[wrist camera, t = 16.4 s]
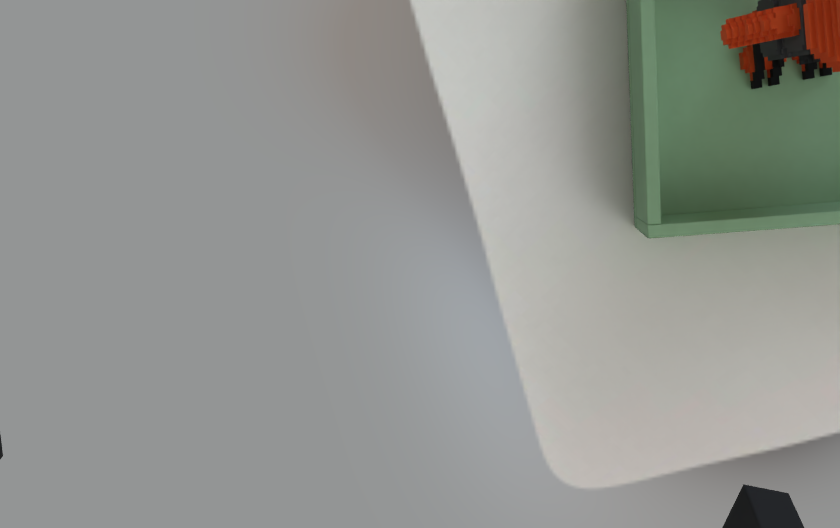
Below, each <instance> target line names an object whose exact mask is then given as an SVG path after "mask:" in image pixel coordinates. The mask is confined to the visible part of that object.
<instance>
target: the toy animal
mask: <svg viewBox="0 0 840 528" xmlns="http://www.w3.org/2000/svg"><path fill="white" fill-rule="evenodd" d="M756 8H757V10H755V11H752V13H750V14H747V15H742V16H738V17H734V18H729V19H726V24H725V25H722V26H721V28H722V31H720V33H721V41H722V40H723V45H728V47H729V49H732V48H737V47H742V46H747V47H745V48H743V52H742V53H739V59H740V69H741V70H744V69H745V73H750V82H751V89H757V88H762V79H765V77H764V70H767V79H768V86H773V85H779V84H780V81H779V76H782V68H781V67H785V65H784V62H787V60H786V58H789V57H792V60H797V64H799V65H801V67H802V79H803V80H806V79H811V78H815V75H814V70H815V69H817V62H819V72H820V77H821V76H828V75H832V71H833V72H840V0H760V1H758V6H757V7H756Z"/></svg>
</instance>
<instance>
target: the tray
mask: <svg viewBox="0 0 840 528" xmlns="http://www.w3.org/2000/svg"><path fill="white" fill-rule="evenodd" d="M758 1H760V0H626V7H627V33H628V60H629V87H630V114H631V141H632V168H633V195H634V222H635V228H637V229H638V230H639V231H640V232H641V233H643V234H644V235H645V236H646V237H647V238H661V237H674V236H688V235H701V234H715V233H728V232H742V231H755V230H769V229H782V228H796V227H809V226H823V225H836V224H840V72H833V71H832V75H828V76H821V77H820V72H819V62H817V69H815V70H814V75H815V78H811V79H806V80H803V79H802V67H801V65H799V64H797V60H792V57H789V58H786V60H787V62H784V65H785V67H781V68H782V76H779V81H780V84H779V85H773V86H768V79H767V70H764V77H765V79H762V88H757V89H751V82H750V73H745V69H744V70H741V69H740V59H739V53H742V52H743V48H745V47H747V46H742V47H737V48H732V49H729V47H728V45H723V40H722V41H721V33H720V31H722V28H721V26H722V25H725V24H726V19H729V18H734V17H738V16H742V15H747V14H750V13H752V11H755V10H757V8H756V7H757V6H758Z"/></svg>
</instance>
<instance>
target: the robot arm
mask: <svg viewBox="0 0 840 528" xmlns="http://www.w3.org/2000/svg"><path fill="white" fill-rule="evenodd" d="M2 456H3V453H2V444H1V436H0V459H1V458H2ZM723 528H804V526H803V524H802V522H801V520H800V518H799V516H798V513H797V511H796V509H795V507H794V505H793V503H792V500H791V498H790V496H789V494H788V493H784V492H779V491H774V490H768V489H764V488H758V487H753V486H748V485H743V487H742V489H741V491H740V493H739V495H738V497H737V499H736V501H735V503H734V505H733V507H732V509H731V511H730V513H729V516H728V517H727V519H726V522H725V524H724V526H723Z"/></svg>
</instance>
